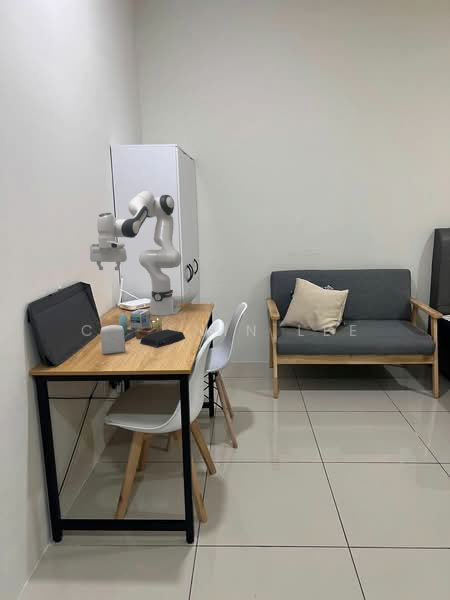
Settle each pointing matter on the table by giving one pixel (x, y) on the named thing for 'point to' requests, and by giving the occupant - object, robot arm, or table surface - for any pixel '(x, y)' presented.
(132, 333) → the tray
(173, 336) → the external hard drive
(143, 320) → the light bulb box
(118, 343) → the photo printer
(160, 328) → the dog
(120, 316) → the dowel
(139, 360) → the table surface
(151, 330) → the socket block
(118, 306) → the table surface
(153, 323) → the dog
